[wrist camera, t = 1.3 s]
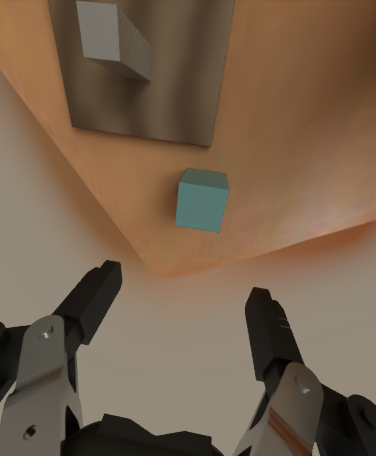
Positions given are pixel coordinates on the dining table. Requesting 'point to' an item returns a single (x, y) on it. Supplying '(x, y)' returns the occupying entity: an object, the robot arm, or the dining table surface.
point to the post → (113, 40)
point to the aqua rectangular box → (202, 200)
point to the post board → (160, 70)
